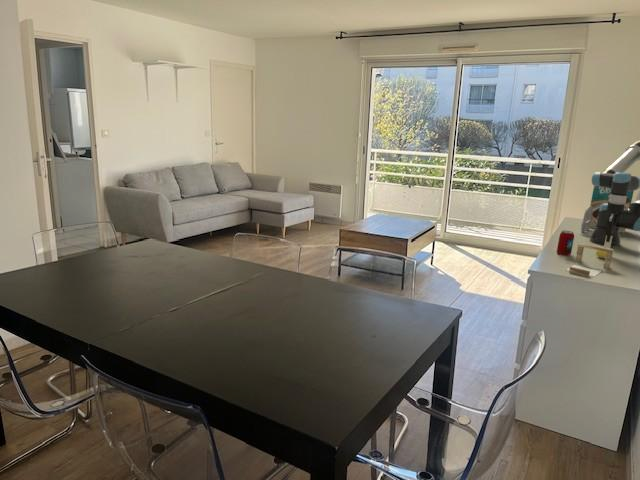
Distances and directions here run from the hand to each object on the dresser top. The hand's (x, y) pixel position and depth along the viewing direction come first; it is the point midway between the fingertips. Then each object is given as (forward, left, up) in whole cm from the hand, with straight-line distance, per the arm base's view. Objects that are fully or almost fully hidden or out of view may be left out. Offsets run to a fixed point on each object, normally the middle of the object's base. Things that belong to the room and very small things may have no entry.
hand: (606, 247), depth 253 cm
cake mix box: (-71, -16, -4) cm, 73 cm away
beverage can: (+18, -15, -4) cm, 24 cm away
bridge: (+27, 0, -4) cm, 27 cm away
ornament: (-49, -16, -4) cm, 52 cm away
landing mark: (+41, 0, -4) cm, 41 cm away
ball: (+9, 0, -1) cm, 9 cm away
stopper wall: (+49, 0, -4) cm, 49 cm away
